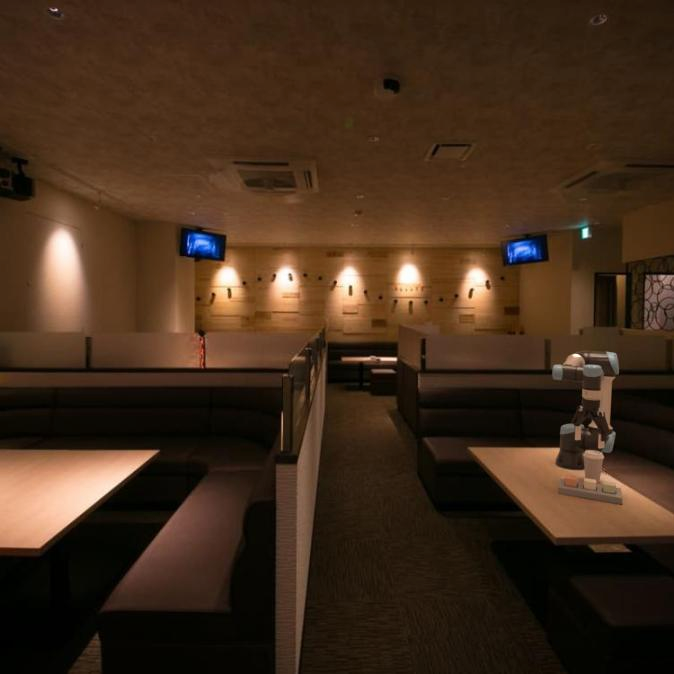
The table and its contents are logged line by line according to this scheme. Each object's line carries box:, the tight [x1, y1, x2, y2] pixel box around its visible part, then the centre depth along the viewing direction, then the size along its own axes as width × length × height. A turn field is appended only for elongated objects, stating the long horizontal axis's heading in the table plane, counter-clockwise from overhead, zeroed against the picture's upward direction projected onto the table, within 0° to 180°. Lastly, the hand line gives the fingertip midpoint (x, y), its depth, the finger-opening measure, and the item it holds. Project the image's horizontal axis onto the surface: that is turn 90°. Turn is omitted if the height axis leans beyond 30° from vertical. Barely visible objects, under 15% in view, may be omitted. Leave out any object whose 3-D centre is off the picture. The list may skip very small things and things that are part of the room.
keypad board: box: [558, 478, 623, 506], centre depth 229 cm, size 14×26×3 cm, turn 62°
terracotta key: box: [564, 474, 578, 487], centre depth 233 cm, size 5×5×4 cm
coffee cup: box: [583, 450, 605, 485], centre depth 246 cm, size 10×10×15 cm
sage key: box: [602, 480, 617, 494], centre depth 225 cm, size 5×5×4 cm
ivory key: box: [583, 477, 596, 490], centre depth 229 cm, size 5×5×4 cm
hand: (589, 443), depth 224 cm, fingers open, 13 cm apart
